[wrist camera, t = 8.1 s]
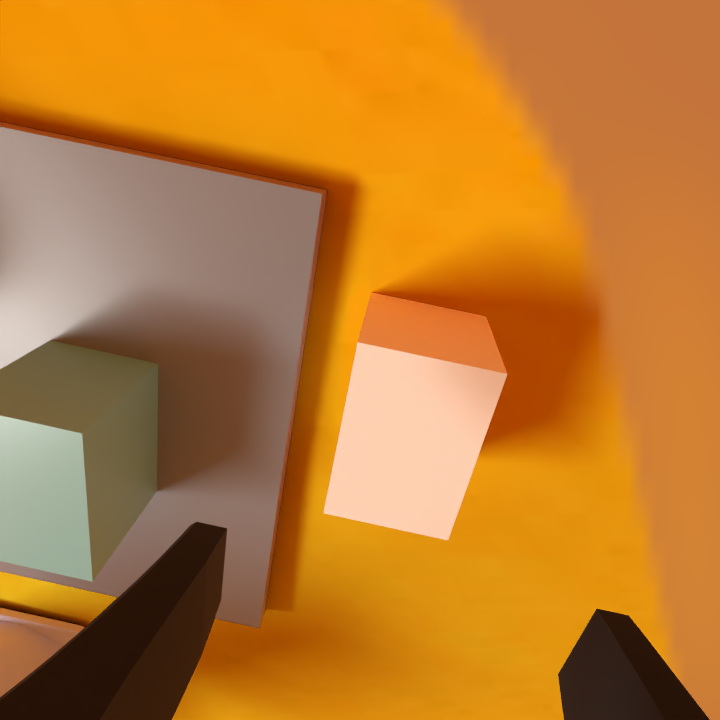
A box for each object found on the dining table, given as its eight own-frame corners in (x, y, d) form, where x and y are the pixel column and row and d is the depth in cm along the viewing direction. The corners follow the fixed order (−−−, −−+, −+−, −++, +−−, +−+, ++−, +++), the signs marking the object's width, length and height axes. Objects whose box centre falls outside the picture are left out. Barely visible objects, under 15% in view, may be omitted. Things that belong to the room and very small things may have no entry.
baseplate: (265, 609, 24) (259, 628, 23) (-11, 549, 24) (-27, 565, 24) (327, 190, 16) (322, 193, 15) (-102, 100, 16) (-133, 99, 15)
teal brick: (156, 491, 20) (92, 581, 16) (62, 470, 20) (-25, 555, 16) (158, 363, 18) (82, 433, 14) (50, 340, 18) (-58, 402, 14)
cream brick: (441, 454, 20) (447, 540, 16) (342, 433, 20) (323, 513, 16) (485, 315, 17) (507, 373, 13) (371, 291, 17) (357, 342, 13)
